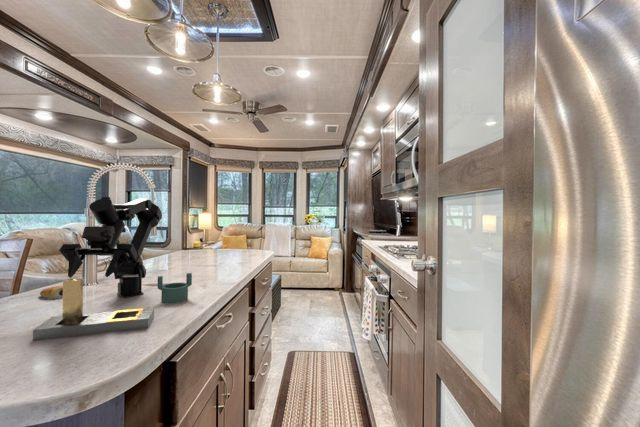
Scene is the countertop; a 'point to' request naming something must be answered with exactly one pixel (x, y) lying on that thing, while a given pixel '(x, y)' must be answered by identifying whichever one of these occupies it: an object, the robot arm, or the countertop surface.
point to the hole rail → (95, 324)
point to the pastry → (52, 292)
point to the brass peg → (72, 301)
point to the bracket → (174, 290)
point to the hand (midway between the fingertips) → (87, 276)
